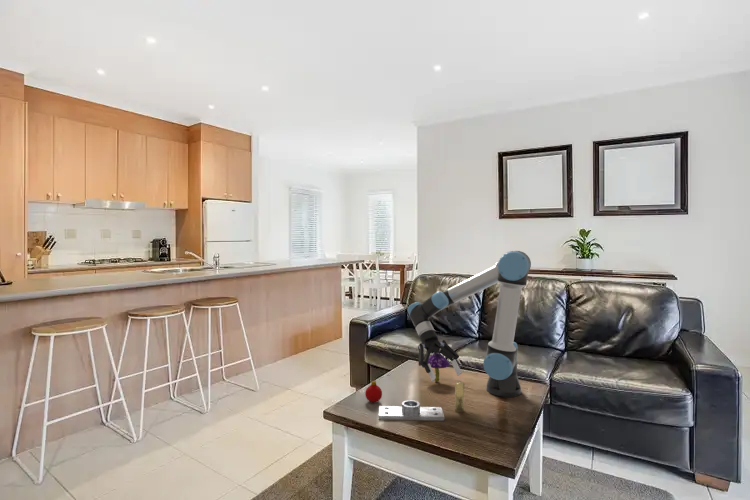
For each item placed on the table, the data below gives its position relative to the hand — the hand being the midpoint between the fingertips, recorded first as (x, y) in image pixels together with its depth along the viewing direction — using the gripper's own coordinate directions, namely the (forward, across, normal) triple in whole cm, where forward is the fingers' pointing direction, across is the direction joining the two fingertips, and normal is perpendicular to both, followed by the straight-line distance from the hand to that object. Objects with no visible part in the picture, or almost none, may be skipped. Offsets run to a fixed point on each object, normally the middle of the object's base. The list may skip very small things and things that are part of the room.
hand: (447, 377), depth 169 cm
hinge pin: (+13, -1, -3) cm, 14 cm away
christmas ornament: (-3, +26, -20) cm, 33 cm away
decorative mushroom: (-9, -13, -26) cm, 30 cm away
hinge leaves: (+10, +19, -7) cm, 22 cm away
